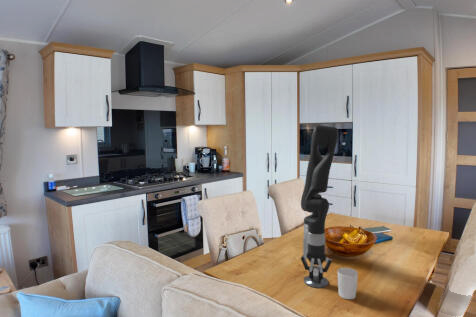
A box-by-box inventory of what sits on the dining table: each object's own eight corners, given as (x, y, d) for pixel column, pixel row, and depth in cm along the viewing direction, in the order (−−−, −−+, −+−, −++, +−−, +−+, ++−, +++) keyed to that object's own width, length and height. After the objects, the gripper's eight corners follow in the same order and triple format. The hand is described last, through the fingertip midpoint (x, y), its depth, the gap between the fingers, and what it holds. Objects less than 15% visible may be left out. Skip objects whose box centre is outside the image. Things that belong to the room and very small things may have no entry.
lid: (302, 286, 139) (302, 270, 138) (305, 275, 149) (305, 260, 148) (327, 289, 136) (327, 273, 135) (328, 278, 146) (328, 263, 145)
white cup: (334, 290, 135) (334, 268, 134) (352, 289, 135) (352, 267, 134) (341, 300, 127) (342, 276, 126) (360, 299, 127) (361, 275, 126)
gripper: (299, 243, 139) (299, 281, 141) (332, 246, 135) (332, 285, 137) (301, 237, 146) (301, 274, 148) (333, 240, 142) (332, 277, 144)
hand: (316, 279), depth 142 cm, fingers closed on lid, 3 cm apart
